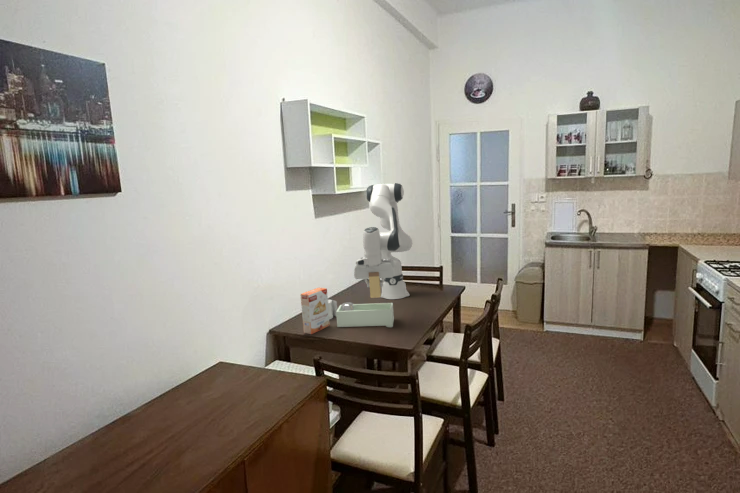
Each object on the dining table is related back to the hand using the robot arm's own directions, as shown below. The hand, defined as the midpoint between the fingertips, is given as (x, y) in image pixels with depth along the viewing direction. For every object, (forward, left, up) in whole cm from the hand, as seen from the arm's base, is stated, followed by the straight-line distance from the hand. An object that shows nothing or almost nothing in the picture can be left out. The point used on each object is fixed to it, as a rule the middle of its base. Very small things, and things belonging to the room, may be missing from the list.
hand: (375, 286), depth 224 cm
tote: (0, -6, -20) cm, 20 cm away
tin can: (0, -15, -19) cm, 24 cm away
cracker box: (+8, -30, -20) cm, 37 cm away
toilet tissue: (-10, -30, -20) cm, 37 cm away
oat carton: (0, 0, -5) cm, 5 cm away
